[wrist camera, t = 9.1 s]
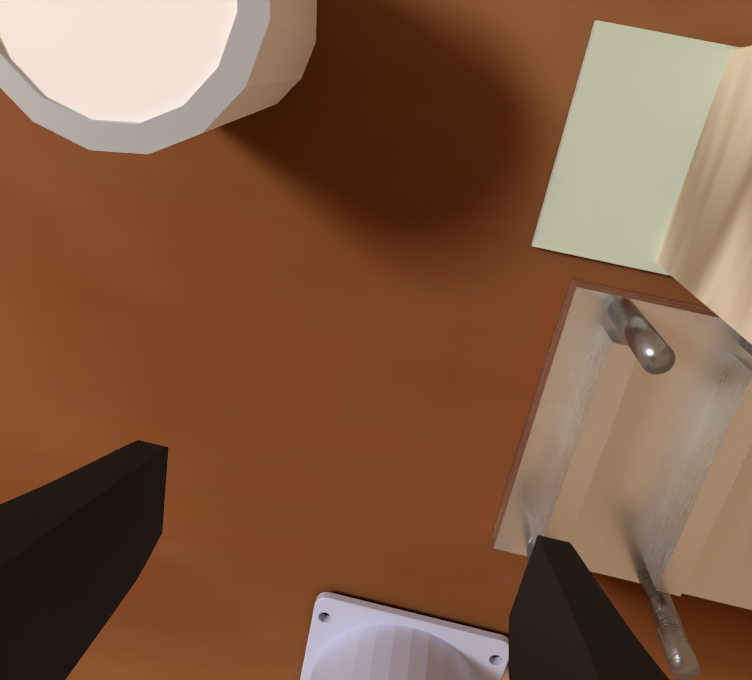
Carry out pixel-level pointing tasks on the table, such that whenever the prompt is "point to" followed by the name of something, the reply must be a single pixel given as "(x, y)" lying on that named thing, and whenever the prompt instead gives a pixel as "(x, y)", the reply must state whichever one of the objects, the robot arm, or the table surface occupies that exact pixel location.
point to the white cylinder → (150, 65)
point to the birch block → (718, 205)
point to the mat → (628, 143)
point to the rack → (641, 453)
